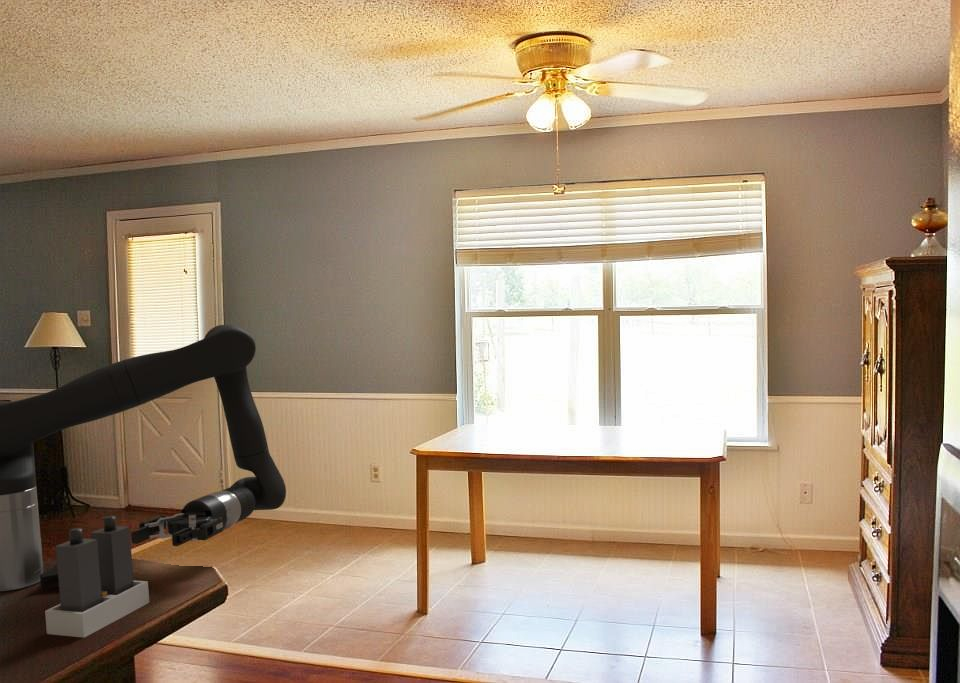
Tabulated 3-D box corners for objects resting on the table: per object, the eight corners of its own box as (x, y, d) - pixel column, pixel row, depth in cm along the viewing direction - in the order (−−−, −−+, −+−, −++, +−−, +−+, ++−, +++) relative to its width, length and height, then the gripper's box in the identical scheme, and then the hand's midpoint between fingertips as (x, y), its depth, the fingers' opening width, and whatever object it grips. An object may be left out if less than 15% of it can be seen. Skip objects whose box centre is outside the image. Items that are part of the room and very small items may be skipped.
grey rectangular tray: (84, 640, 121) (82, 610, 121) (47, 636, 124) (44, 606, 123) (149, 605, 135) (147, 577, 134) (114, 602, 137) (112, 575, 137)
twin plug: (83, 632, 123) (75, 534, 122) (62, 630, 124) (54, 533, 124) (103, 621, 127) (96, 526, 126) (82, 620, 128) (75, 525, 127)
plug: (117, 614, 130) (110, 521, 129) (97, 612, 131) (89, 520, 130) (135, 605, 134) (128, 514, 133) (115, 603, 135) (108, 513, 134)
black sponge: (83, 592, 144) (82, 571, 144) (35, 594, 144) (34, 573, 144) (124, 562, 160) (123, 544, 160) (81, 564, 160) (80, 546, 160)
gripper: (179, 493, 158) (118, 516, 143) (242, 495, 154) (186, 519, 139) (181, 532, 159) (121, 558, 143) (245, 535, 154) (189, 563, 139)
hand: (153, 539), depth 141 cm, fingers open, 8 cm apart
